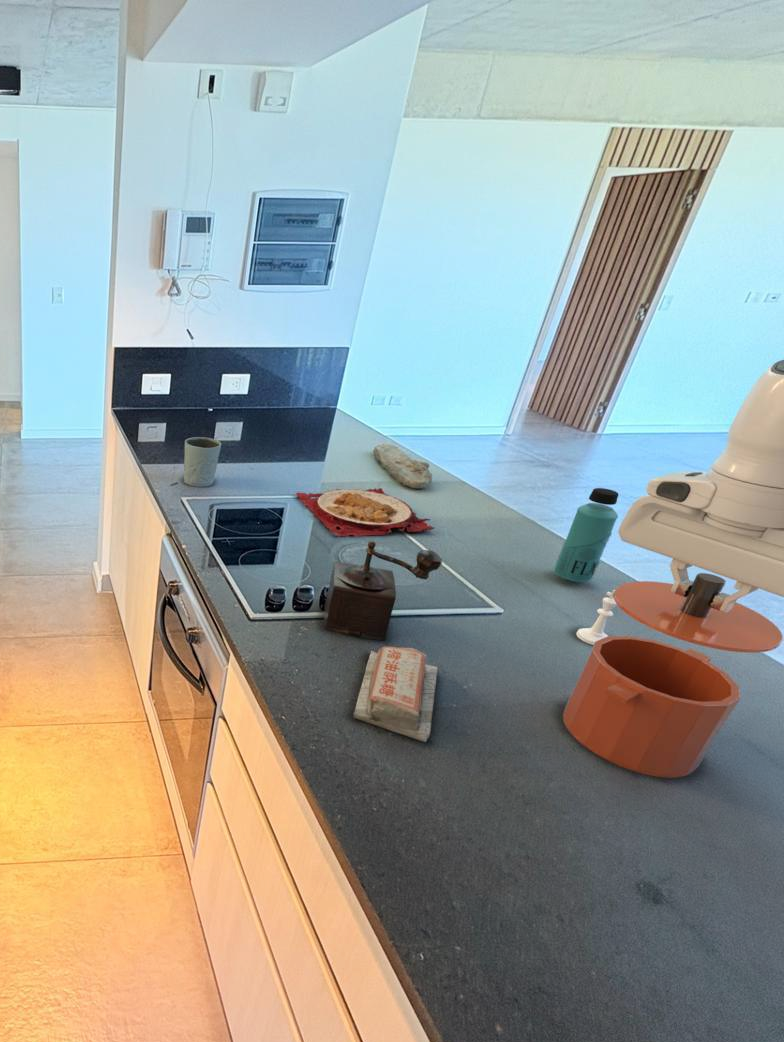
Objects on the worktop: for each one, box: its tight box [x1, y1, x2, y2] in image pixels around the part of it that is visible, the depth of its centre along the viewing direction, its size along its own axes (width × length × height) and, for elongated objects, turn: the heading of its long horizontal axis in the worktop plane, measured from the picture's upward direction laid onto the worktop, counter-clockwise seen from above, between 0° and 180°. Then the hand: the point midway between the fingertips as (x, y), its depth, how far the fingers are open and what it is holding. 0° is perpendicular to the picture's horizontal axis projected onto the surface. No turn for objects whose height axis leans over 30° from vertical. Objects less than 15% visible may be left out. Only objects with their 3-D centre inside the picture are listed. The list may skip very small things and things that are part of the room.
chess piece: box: [576, 589, 618, 646], centre depth 106 cm, size 5×5×10 cm
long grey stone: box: [372, 443, 433, 489], centre depth 185 cm, size 35×5×10 cm
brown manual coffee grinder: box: [323, 540, 443, 641], centre depth 109 cm, size 16×11×18 cm
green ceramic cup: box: [183, 436, 222, 488], centre depth 177 cm, size 10×10×12 cm
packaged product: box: [353, 645, 438, 743], centre depth 95 cm, size 18×5×10 cm
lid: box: [613, 572, 784, 654], centre depth 77 cm, size 16×16×6 cm
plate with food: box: [295, 487, 436, 537], centre depth 157 cm, size 24×26×4 cm
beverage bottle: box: [554, 487, 619, 583], centre depth 122 cm, size 6×7×20 cm
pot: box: [562, 635, 741, 779], centre depth 85 cm, size 15×20×12 cm
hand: (699, 601), depth 77 cm, fingers closed on lid, 2 cm apart
